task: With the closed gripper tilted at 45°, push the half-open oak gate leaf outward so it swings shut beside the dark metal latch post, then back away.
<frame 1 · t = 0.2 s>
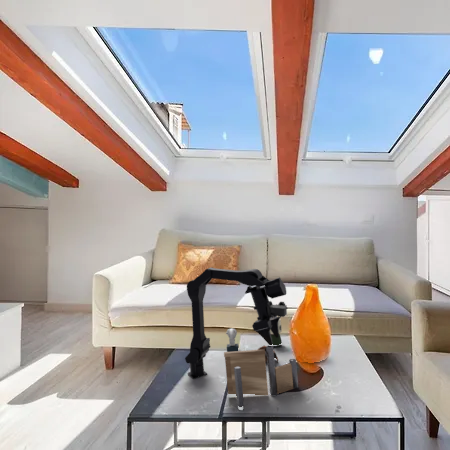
hand: (274, 341, 146), 15 cm above the table, tool pointing down, fingers open, 9 cm apart
gate: (246, 373, 135), point 8 cm above the table, hinge at -30.0°
character mug: (275, 346, 187), on the table
gate frame: (270, 395, 134), on the table
grey bust figurine: (233, 352, 184), on the table
pottery mug: (266, 363, 166), on the table
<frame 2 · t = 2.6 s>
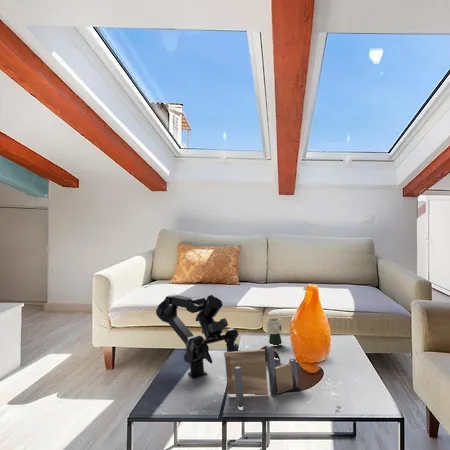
hand: (223, 360, 141), 12 cm above the table, tool tilted 45°, fingers open, 9 cm apart
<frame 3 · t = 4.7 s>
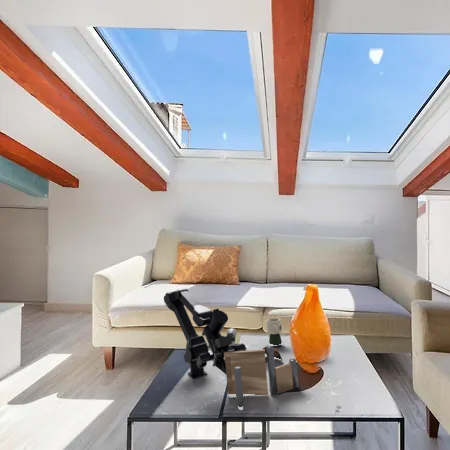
hand: (230, 376, 136), 7 cm above the table, tool tilted 45°, fingers closed
gate: (246, 373, 135), point 8 cm above the table, hinge at -29.7°, touching gripper
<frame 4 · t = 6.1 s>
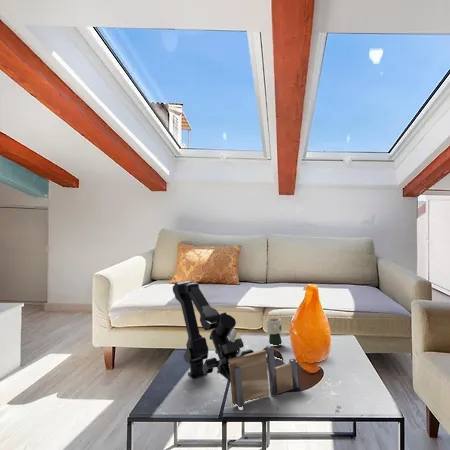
hand: (237, 384, 130), 7 cm above the table, tool tilted 45°, fingers closed, pressing on gate
gate: (249, 377, 131), point 8 cm above the table, hinge at 0.6°, touching gripper
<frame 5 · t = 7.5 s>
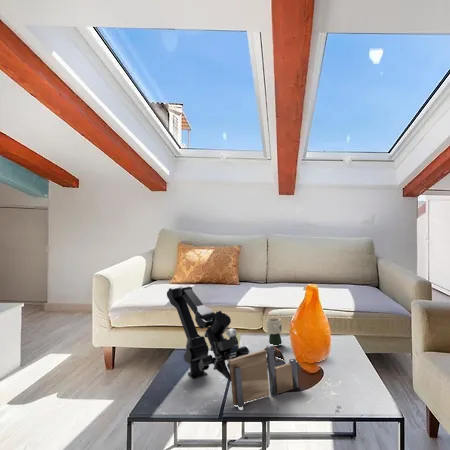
hand: (233, 380, 134), 7 cm above the table, tool tilted 45°, fingers closed
gate: (249, 378, 131), point 8 cm above the table, hinge at 2.5°
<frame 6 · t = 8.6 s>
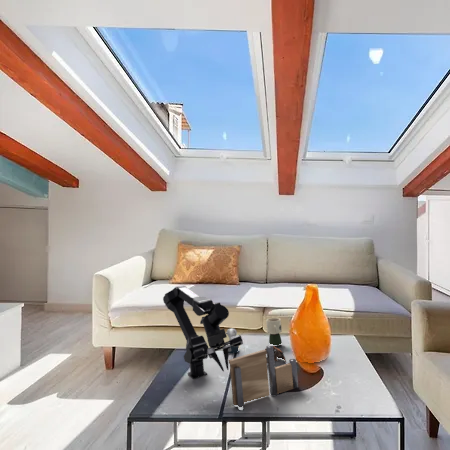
hand: (225, 370, 139), 8 cm above the table, tool tilted 35°, fingers closed
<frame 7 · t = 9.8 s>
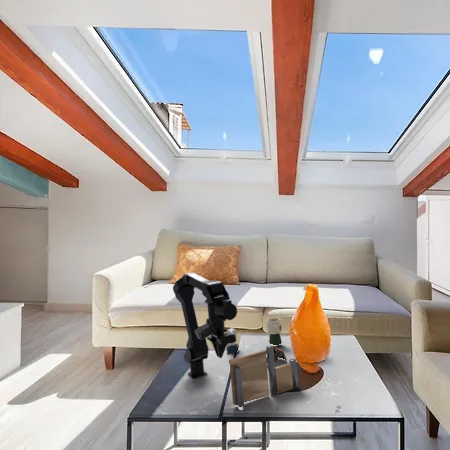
hand: (219, 357, 143), 12 cm above the table, tool pointing down, fingers closed
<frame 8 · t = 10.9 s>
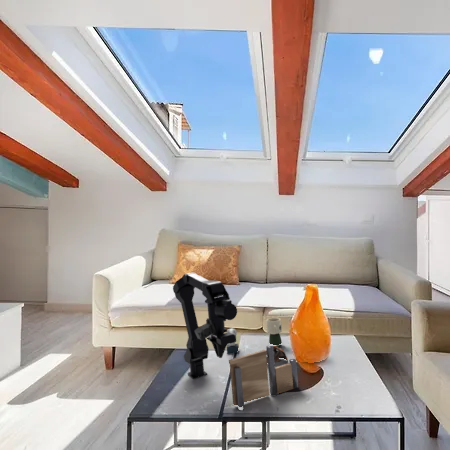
hand: (219, 357, 143), 12 cm above the table, tool pointing down, fingers closed
at the end: gate at +2° (first picture: -30°) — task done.
